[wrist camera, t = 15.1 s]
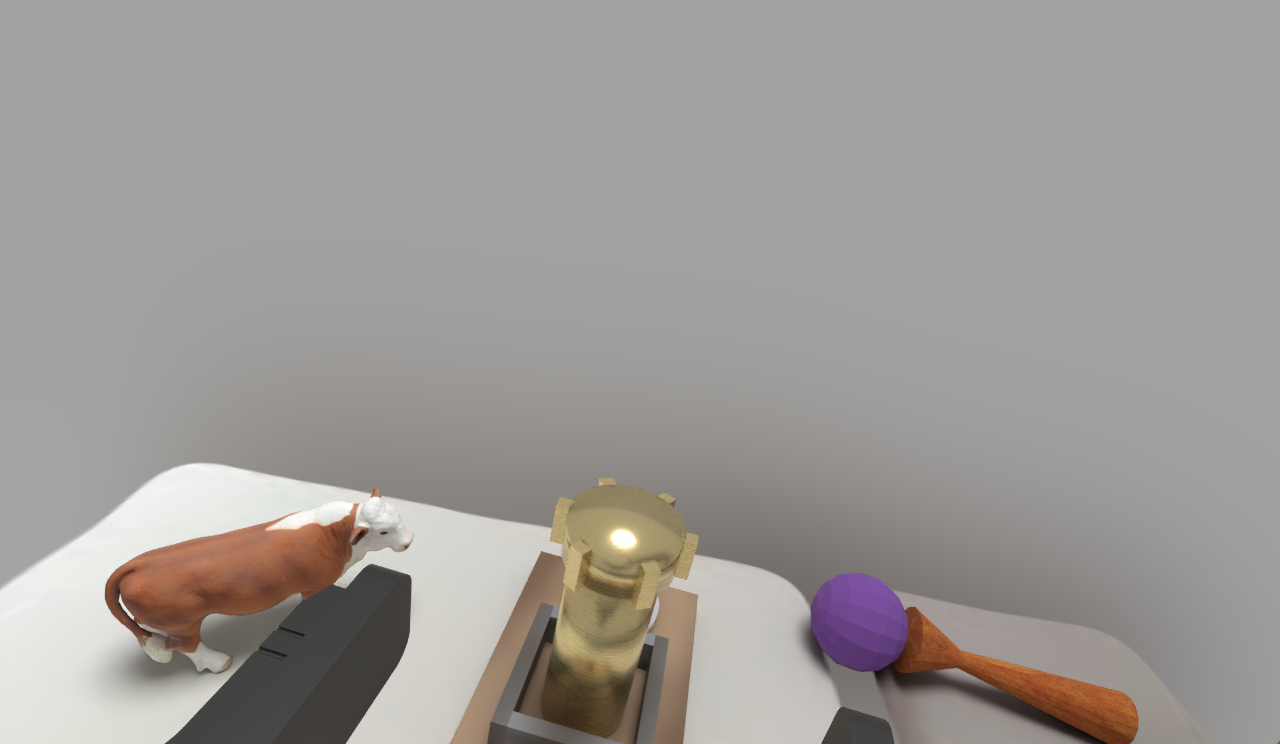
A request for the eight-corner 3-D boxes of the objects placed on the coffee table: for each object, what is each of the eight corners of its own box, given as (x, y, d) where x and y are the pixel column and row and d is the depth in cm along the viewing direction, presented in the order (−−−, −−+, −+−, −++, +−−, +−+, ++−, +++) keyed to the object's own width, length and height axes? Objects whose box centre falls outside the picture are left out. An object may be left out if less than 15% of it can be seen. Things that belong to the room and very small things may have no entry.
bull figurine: (413, 624, 36) (421, 514, 33) (119, 706, 29) (90, 576, 26) (397, 573, 39) (402, 469, 36) (128, 635, 32) (104, 511, 29)
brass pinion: (651, 674, 35) (703, 502, 30) (632, 777, 29) (692, 586, 24) (542, 642, 35) (576, 467, 30) (503, 736, 30) (537, 541, 25)
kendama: (1173, 746, 35) (833, 618, 36) (1102, 787, 38) (795, 668, 40) (1131, 652, 39) (833, 542, 41) (1071, 696, 43) (799, 593, 44)
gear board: (692, 611, 41) (705, 570, 40) (650, 997, 23) (671, 948, 22) (538, 568, 42) (545, 526, 41) (380, 909, 24) (383, 856, 22)
